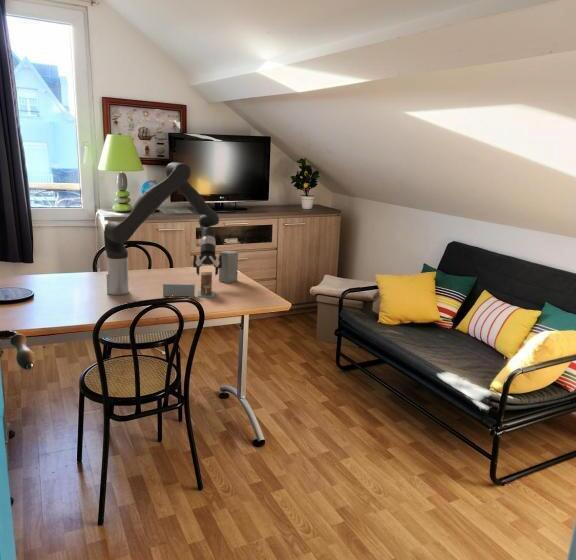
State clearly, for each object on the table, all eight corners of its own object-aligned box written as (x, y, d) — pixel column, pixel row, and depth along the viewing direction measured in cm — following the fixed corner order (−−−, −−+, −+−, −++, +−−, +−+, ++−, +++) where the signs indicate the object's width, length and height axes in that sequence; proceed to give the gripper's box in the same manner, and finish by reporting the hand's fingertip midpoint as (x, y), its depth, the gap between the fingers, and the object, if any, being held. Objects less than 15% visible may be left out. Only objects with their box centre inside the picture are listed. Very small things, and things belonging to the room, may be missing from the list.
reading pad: (197, 297, 247) (197, 295, 247) (198, 292, 254) (198, 290, 254) (214, 297, 248) (214, 296, 248) (214, 292, 256) (214, 291, 255)
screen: (163, 296, 244) (163, 284, 243) (163, 295, 245) (163, 283, 244) (194, 297, 246) (194, 285, 245) (194, 296, 248) (194, 284, 246)
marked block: (200, 295, 248) (201, 274, 245) (201, 291, 253) (201, 272, 250) (211, 295, 249) (211, 275, 246) (211, 292, 254) (212, 272, 251)
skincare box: (227, 283, 271) (228, 254, 267) (217, 280, 275) (218, 251, 271) (238, 280, 278) (239, 251, 274) (228, 278, 282) (229, 249, 278)
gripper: (193, 242, 261) (192, 270, 254) (222, 243, 263) (221, 271, 256) (194, 250, 268) (192, 277, 260) (221, 250, 270) (221, 278, 262)
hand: (207, 274), depth 258 cm, fingers open, 8 cm apart
